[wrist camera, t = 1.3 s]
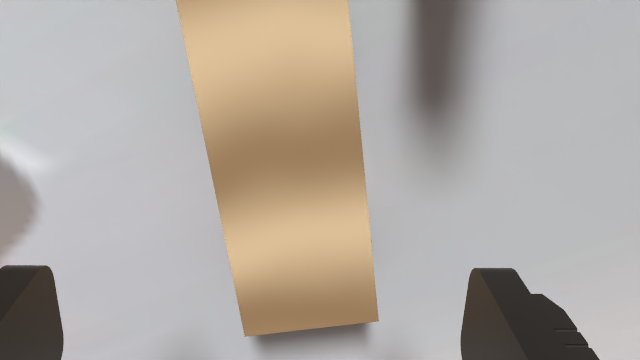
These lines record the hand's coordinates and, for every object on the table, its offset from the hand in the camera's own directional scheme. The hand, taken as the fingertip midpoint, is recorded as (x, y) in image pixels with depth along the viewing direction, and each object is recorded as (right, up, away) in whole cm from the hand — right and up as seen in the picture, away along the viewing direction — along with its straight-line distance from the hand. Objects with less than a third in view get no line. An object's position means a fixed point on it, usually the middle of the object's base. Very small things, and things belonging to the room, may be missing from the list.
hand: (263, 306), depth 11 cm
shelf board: (0, +5, +11) cm, 12 cm away
